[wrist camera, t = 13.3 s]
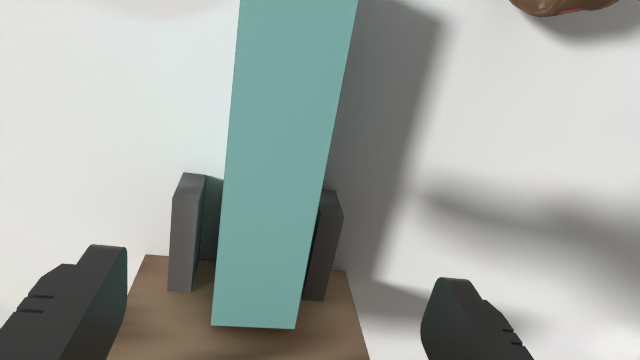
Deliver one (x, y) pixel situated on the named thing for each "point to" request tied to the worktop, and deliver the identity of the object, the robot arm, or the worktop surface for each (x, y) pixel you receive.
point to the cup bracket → (198, 288)
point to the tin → (559, 6)
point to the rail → (277, 154)
